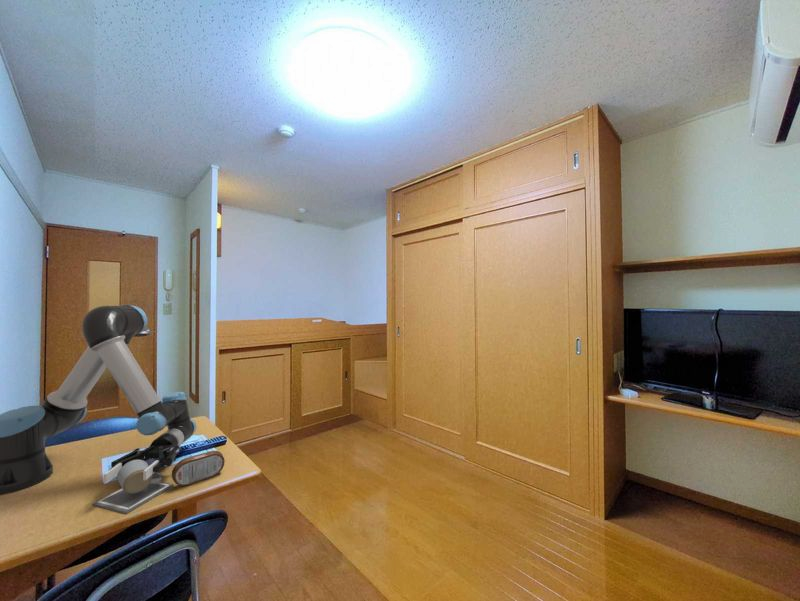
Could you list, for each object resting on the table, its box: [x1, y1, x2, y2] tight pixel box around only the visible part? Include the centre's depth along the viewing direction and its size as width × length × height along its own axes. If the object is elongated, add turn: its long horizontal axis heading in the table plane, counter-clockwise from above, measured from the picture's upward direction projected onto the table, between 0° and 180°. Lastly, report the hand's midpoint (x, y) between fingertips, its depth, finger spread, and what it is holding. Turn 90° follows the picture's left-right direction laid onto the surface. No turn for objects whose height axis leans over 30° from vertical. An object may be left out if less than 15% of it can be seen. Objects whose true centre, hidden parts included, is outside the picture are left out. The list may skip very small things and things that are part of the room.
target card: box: [91, 481, 175, 515], centre depth 100 cm, size 14×14×1 cm
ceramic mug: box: [117, 460, 164, 494], centre depth 101 cm, size 11×8×8 cm
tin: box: [171, 450, 226, 487], centre depth 108 cm, size 15×3×8 cm, turn 133°
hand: (125, 477), depth 95 cm, fingers closed on ceramic mug, 10 cm apart
